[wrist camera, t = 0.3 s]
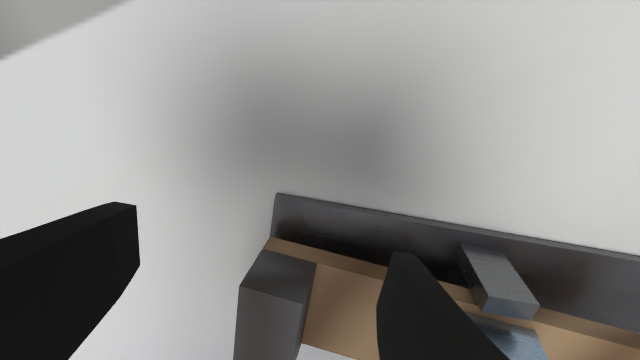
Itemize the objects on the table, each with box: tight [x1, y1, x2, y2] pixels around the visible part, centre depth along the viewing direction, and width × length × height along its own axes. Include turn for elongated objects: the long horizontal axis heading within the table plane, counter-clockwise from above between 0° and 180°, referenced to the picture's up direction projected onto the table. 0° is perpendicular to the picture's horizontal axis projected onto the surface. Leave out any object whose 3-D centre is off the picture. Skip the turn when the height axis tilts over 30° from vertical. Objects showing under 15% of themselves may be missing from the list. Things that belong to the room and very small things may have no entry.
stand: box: [270, 193, 640, 333], centre depth 19 cm, size 24×10×5 cm, turn 81°
